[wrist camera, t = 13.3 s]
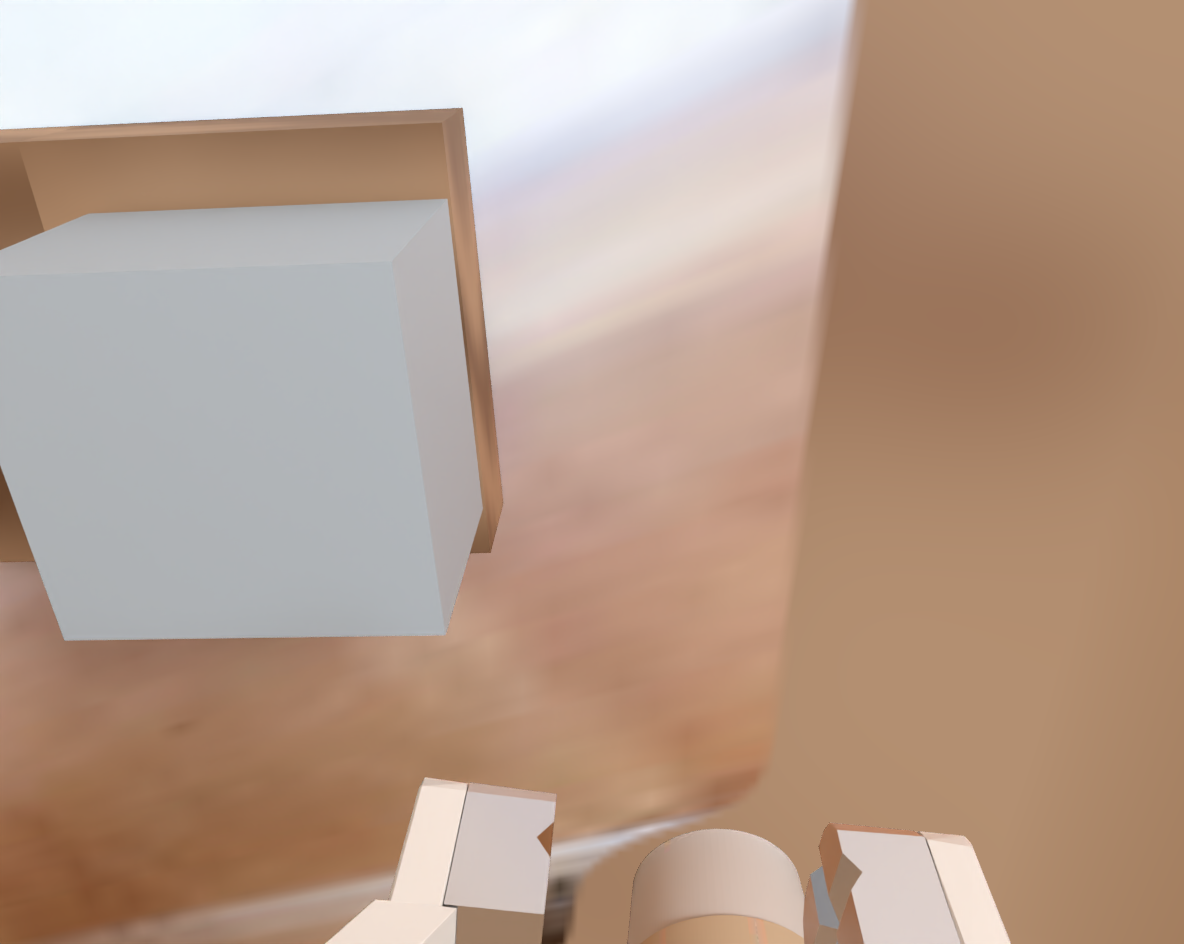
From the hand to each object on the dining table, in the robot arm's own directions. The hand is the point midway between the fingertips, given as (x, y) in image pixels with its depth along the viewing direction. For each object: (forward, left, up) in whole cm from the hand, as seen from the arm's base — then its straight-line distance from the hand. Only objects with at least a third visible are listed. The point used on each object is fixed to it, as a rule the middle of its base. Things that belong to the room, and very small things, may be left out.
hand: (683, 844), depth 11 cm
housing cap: (0, +9, -16) cm, 18 cm away
